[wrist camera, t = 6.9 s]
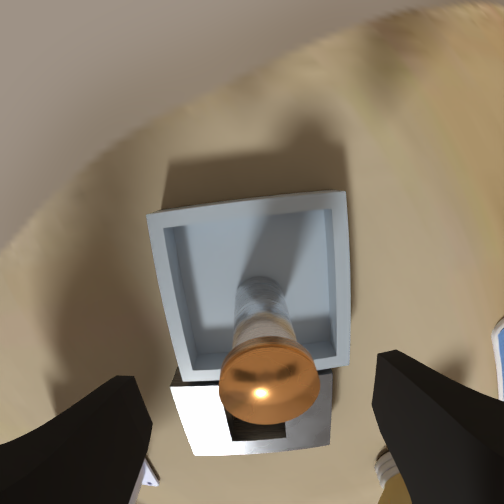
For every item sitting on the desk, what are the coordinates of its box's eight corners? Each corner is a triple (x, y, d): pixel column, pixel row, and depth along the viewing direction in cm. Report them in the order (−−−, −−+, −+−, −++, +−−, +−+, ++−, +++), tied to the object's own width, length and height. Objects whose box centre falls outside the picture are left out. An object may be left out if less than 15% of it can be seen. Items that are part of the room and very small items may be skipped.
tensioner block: (198, 433, 21) (194, 454, 19) (177, 366, 20) (169, 386, 17) (324, 423, 21) (329, 444, 18) (324, 352, 19) (332, 373, 17)
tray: (190, 359, 19) (182, 381, 17) (160, 209, 17) (146, 214, 15) (339, 344, 19) (349, 364, 17) (333, 189, 17) (345, 191, 14)
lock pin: (233, 328, 18) (227, 428, 10) (223, 273, 17) (209, 358, 9) (292, 321, 18) (319, 417, 10) (288, 265, 17) (320, 345, 9)
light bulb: (365, 445, 22) (396, 532, 12) (426, 428, 21) (468, 502, 12) (355, 480, 23) (376, 555, 13) (410, 465, 23) (440, 532, 13)
